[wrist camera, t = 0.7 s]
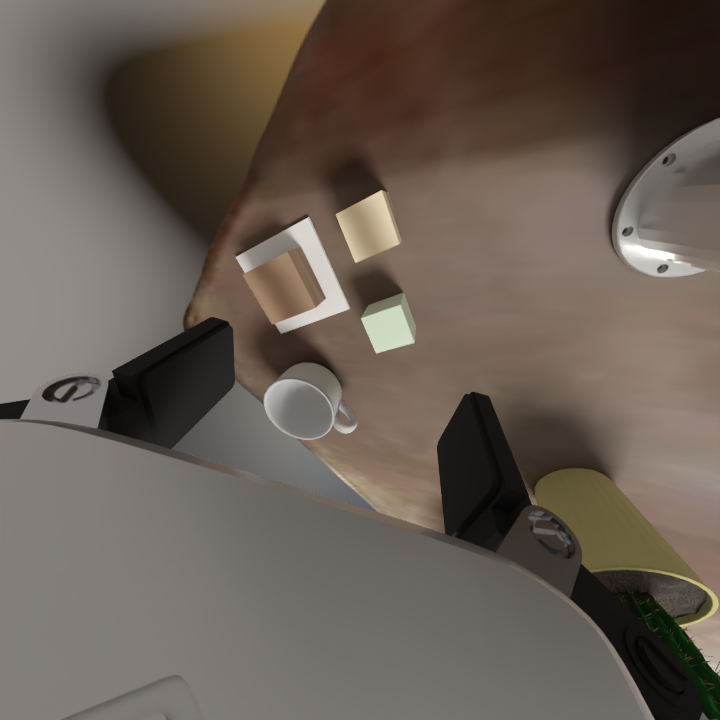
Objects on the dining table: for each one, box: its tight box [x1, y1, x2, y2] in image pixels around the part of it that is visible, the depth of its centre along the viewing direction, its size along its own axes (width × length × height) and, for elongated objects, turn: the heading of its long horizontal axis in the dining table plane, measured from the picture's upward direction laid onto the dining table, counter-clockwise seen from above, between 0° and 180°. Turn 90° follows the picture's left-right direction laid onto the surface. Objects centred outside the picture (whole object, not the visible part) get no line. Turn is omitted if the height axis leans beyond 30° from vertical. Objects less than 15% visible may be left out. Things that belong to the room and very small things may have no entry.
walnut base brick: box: [242, 247, 326, 325], centre depth 34 cm, size 7×7×4 cm
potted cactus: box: [535, 468, 720, 720], centre depth 32 cm, size 15×15×30 cm
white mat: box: [236, 217, 350, 334], centre depth 36 cm, size 12×12×1 cm
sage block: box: [361, 292, 416, 353], centre depth 34 cm, size 5×5×5 cm
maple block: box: [336, 190, 403, 263], centre depth 29 cm, size 5×5×5 cm
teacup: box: [264, 363, 358, 440], centre depth 41 cm, size 14×11×8 cm
